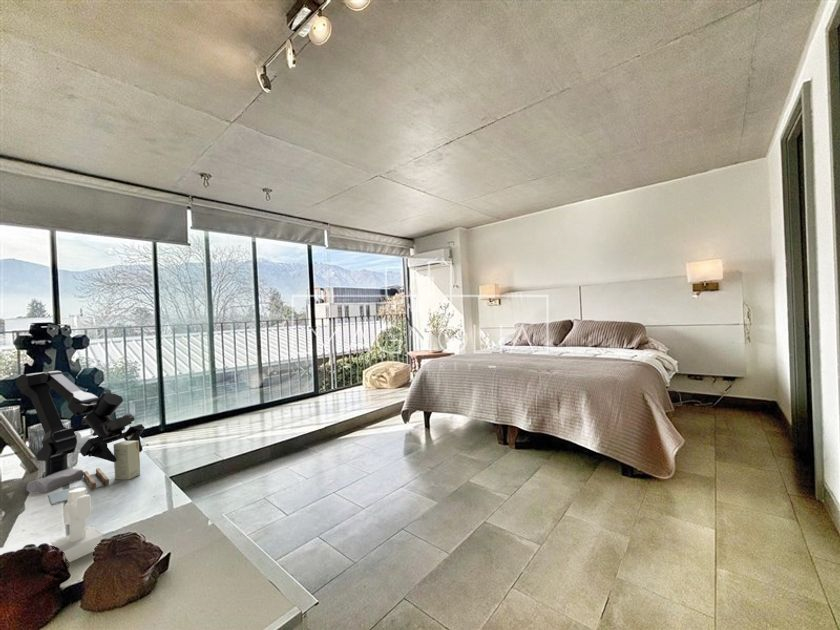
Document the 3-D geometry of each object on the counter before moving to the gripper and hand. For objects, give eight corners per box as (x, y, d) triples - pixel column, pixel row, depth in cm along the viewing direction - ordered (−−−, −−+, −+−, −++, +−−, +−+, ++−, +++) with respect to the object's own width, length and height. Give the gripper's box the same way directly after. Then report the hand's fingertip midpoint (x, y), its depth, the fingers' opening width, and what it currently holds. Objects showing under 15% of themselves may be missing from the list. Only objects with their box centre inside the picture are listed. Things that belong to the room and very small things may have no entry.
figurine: (89, 539, 87) (88, 479, 88) (106, 550, 83) (105, 486, 83) (48, 557, 81) (47, 492, 81) (64, 570, 76) (63, 501, 77)
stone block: (22, 498, 115) (46, 493, 113) (20, 483, 115) (44, 478, 114) (64, 482, 126) (87, 478, 125) (62, 469, 127) (85, 464, 125)
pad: (48, 495, 112) (48, 494, 112) (82, 485, 118) (82, 484, 118) (52, 505, 105) (52, 503, 105) (88, 494, 112) (88, 492, 112)
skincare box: (140, 474, 126) (140, 440, 126) (128, 480, 121) (128, 444, 122) (125, 473, 127) (125, 439, 127) (113, 479, 122) (112, 444, 123)
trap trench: (83, 477, 125) (83, 471, 125) (99, 473, 128) (98, 467, 128) (92, 489, 115) (92, 483, 115) (108, 485, 118) (108, 479, 118)
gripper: (86, 415, 116) (115, 450, 114) (140, 402, 134) (165, 431, 132) (67, 439, 117) (95, 473, 115) (123, 422, 136) (148, 452, 134)
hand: (128, 456), depth 124 cm, fingers open, 9 cm apart
